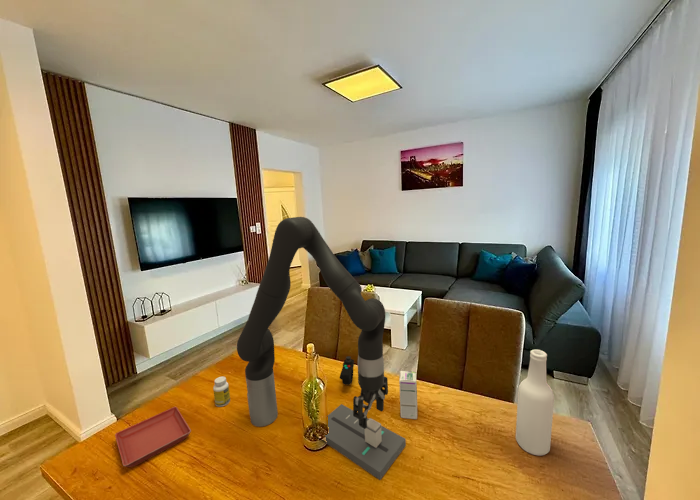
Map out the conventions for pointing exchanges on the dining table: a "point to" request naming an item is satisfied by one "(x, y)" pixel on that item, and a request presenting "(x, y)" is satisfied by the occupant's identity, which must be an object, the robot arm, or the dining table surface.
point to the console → (362, 442)
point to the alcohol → (535, 407)
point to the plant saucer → (151, 436)
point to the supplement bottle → (221, 392)
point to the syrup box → (408, 394)
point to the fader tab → (373, 433)
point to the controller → (347, 371)
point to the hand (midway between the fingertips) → (371, 418)
